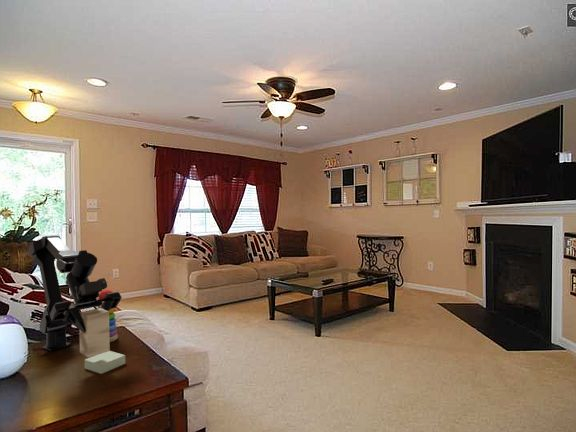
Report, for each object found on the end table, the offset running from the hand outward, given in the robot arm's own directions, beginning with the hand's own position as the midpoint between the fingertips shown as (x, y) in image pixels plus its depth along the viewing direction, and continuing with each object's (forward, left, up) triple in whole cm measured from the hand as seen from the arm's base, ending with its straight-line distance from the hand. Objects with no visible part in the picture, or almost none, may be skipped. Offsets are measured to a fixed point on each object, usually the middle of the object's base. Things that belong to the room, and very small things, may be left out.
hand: (96, 329), depth 105 cm
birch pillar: (-1, 0, -7) cm, 7 cm away
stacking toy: (-22, +18, -13) cm, 31 cm away
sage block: (-2, +4, -13) cm, 14 cm away
